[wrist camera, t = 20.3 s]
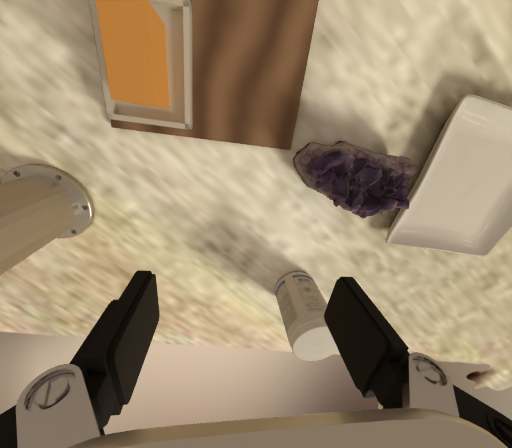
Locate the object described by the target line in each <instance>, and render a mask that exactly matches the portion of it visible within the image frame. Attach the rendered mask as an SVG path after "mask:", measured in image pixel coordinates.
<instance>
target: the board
mask: <svg viewBox="0 0 512 448" xmlns="http://www.w3.org/2000/svg"><path fill="white" fill-rule="evenodd" d="M318 1H319V0H190V3H191V6H192V130H188V129H180V128H173V127H165V126H158V125H150V124H143V123H135V122H128V121H120V120H112V119H111V126H112V127H114V128H122V129H130V130H137V131H145V132H153V133H161V134H169V135H177V136H185V137H192V138H200V139H208V140H216V141H224V142H232V143H240V144H247V145H255V146H263V147H271V148H279V149H287V150H290V149H291V144H292V138H293V133H294V128H295V123H296V117H297V112H298V107H299V101H300V96H301V91H302V86H303V80H304V75H305V70H306V65H307V59H308V54H309V49H310V43H311V38H312V33H313V28H314V22H315V17H316V12H317V6H318Z"/></svg>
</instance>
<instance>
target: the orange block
mask: <svg viewBox="0 0 512 448" xmlns="http://www.w3.org/2000/svg"><path fill="white" fill-rule="evenodd" d="M96 5H97V12H98V18H99V25H100V31H101V38H102V44H103V51H104V57H105V63H106V70H107V76H108V83H109V89H110V96H111V99H112V100H118V101H123V102H128V103H134V104H140V105H147V106H155V107H162V108H169V91H168V72H167V52H166V33H165V25H164V23H163V22H162V20H161V19H160V17H159V16H158V14H157V13H156V11H155V10H154V8H153V7H152V5H151V4H150V3H149V1H148V0H96Z"/></svg>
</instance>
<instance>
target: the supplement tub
mask: <svg viewBox="0 0 512 448" xmlns="http://www.w3.org/2000/svg"><path fill="white" fill-rule="evenodd" d="M275 294H276V298H277V301H278V305H279V308H280V312H281V315H282V319H283V323H284V326H285V330H286V333H287V337H288V340H289V343H290V346H291V348H292V351H293V353H294V354H295V356H296V357H298V358H299V359H302V360H307V361H315V360H320V359H323V358H326V357H328V356H330V355H332V354H333V353H334V352H336V351H337V350H338V348H337V346H336V344H335V342H334V339H333V337H332V335H331V333H330V331H329V329H328V327H327V325H326V323H325V320H324V313H325V310H326V308H327V303H326V301H325V300H324V298H323V296H322V294H321V292H320V290H319V289H318V287H317V285H316V283H315V282H314V280H313V278H312V277H311V276H310V275H308V274H306V273H303V272H293V273H289V274H287V275H285V276H284V277H283V278H281V279H280V280H279V282H278V283H277V285H276V288H275Z"/></svg>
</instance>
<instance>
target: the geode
mask: <svg viewBox="0 0 512 448" xmlns="http://www.w3.org/2000/svg"><path fill="white" fill-rule="evenodd" d="M409 160H410V159H408V158H406V157H402V156H400V157H397V156H392V155H382V154H379V153H373V152H371V151H369V150H366V149H364V148H360V147H357V146H355V145H352V144H349V143H347V142H345V141H339V142H337V143H336V144H335V145H333V146H326V145H322V144H318V143H312V142H311V143H309V144H308V145H306V146H305V147H304V148H303V149H301V150H300V151H298V152H297V155H296V156H295V157H294V158H293V162H294V166H295V168H296V170H297V171H298V173H299V174H300V176H301V177H302V179H303V181H304V183H305V184H306V185H307V187H310V188H312V189H314V190H316V191H317V192H319V193H322V194H324V195H326V196H327V198H329V199H330V200H333V202H334V205H335V206H336V207H337V206H338V205H340V206H341V207H342V208H343V209H345V210H349V211H351V212H352V213H353V214H356V215H359V216H360V217H361V218H366V217H367V216H373V215H375V214H379V215H381V214H382V212H383V211H384V210H389V211H393V210H394V209H395V208H396V207H397V208H401V209H403V210H406V209H409V205H410V203H409V200H408V199H406V197H407V195H408V192H409V189H408V180H409V179H410V178H411V177H412V176H413V175H414V174H415V173H416V172H417V169H416V167H415V166H414V165H413V163H412V162H411V161H409Z"/></svg>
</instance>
